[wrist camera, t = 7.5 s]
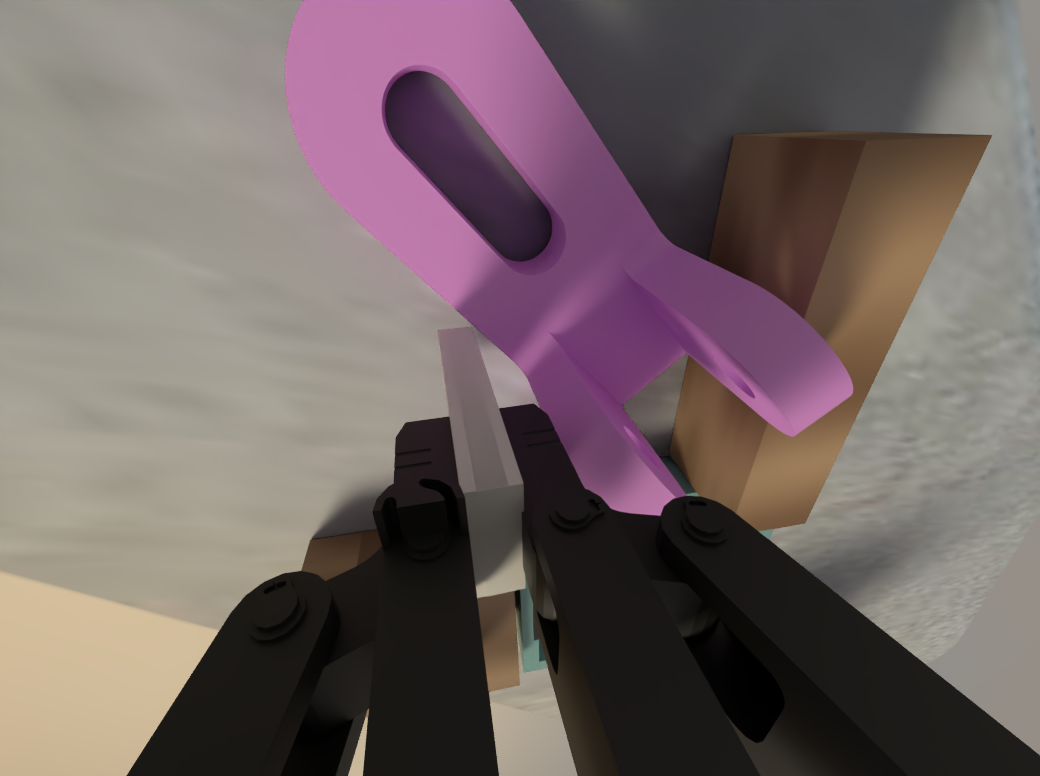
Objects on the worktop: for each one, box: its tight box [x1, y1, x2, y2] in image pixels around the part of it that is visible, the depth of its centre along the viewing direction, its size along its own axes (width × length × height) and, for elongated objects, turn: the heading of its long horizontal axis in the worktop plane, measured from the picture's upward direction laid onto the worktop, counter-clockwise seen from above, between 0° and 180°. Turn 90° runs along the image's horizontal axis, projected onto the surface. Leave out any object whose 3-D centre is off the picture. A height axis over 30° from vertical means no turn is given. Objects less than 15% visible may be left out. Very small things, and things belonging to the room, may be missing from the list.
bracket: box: [285, 0, 853, 516], centre depth 10 cm, size 13×6×7 cm, turn 42°
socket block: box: [301, 530, 520, 717], centre depth 19 cm, size 8×8×4 cm
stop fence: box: [669, 131, 992, 531], centre depth 14 cm, size 12×3×4 cm, turn 2°
